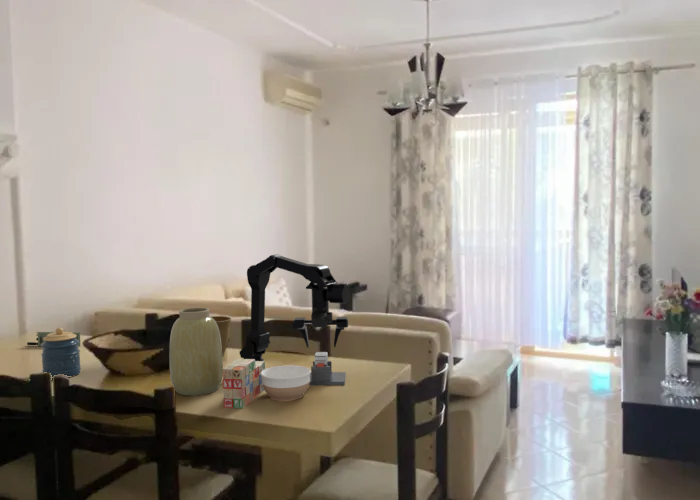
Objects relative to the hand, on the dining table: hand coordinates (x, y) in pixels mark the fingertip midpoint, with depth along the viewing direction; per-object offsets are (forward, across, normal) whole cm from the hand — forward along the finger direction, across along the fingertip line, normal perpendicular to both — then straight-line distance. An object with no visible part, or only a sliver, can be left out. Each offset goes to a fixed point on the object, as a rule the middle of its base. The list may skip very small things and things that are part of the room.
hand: (321, 347), depth 223 cm
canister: (+12, -97, +14) cm, 99 cm away
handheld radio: (+12, -123, +62) cm, 139 cm away
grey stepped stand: (+12, 0, +1) cm, 12 cm away
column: (+11, 0, 0) cm, 11 cm away
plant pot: (+12, -46, +35) cm, 59 cm away
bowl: (+12, -10, -16) cm, 22 cm away
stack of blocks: (+12, -23, -17) cm, 31 cm away
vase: (+12, -41, -8) cm, 44 cm away
